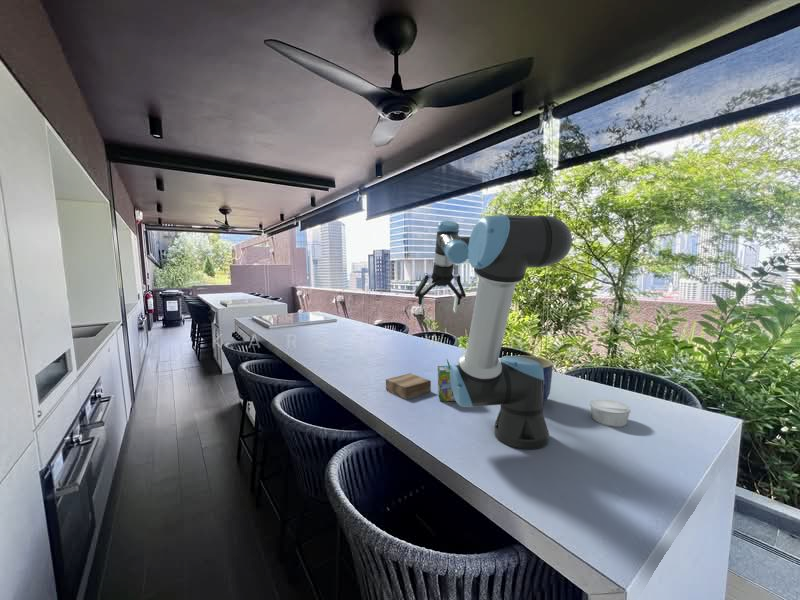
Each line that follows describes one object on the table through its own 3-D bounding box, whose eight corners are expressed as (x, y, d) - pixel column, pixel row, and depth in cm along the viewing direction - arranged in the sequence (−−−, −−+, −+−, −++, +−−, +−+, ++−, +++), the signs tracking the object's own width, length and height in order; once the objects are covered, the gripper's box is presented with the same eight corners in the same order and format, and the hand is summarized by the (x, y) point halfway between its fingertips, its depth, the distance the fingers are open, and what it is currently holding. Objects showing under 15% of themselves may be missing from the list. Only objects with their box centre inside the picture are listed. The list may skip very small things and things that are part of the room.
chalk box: (464, 402, 128) (464, 363, 127) (439, 402, 128) (439, 363, 127) (460, 393, 137) (460, 356, 136) (437, 393, 138) (437, 357, 136)
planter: (499, 405, 124) (499, 364, 123) (508, 390, 139) (508, 353, 138) (550, 413, 117) (551, 369, 115) (553, 397, 132) (554, 358, 130)
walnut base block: (430, 392, 139) (430, 380, 139) (405, 400, 131) (405, 387, 131) (410, 384, 150) (410, 373, 149) (386, 391, 142) (385, 379, 141)
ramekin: (609, 431, 104) (610, 414, 103) (581, 416, 115) (581, 400, 114) (638, 426, 107) (639, 409, 106) (608, 412, 118) (608, 397, 117)
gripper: (473, 259, 134) (465, 306, 144) (409, 258, 131) (406, 306, 142) (478, 267, 127) (470, 316, 137) (412, 266, 125) (408, 315, 135)
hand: (438, 311), depth 140 cm, fingers open, 13 cm apart
